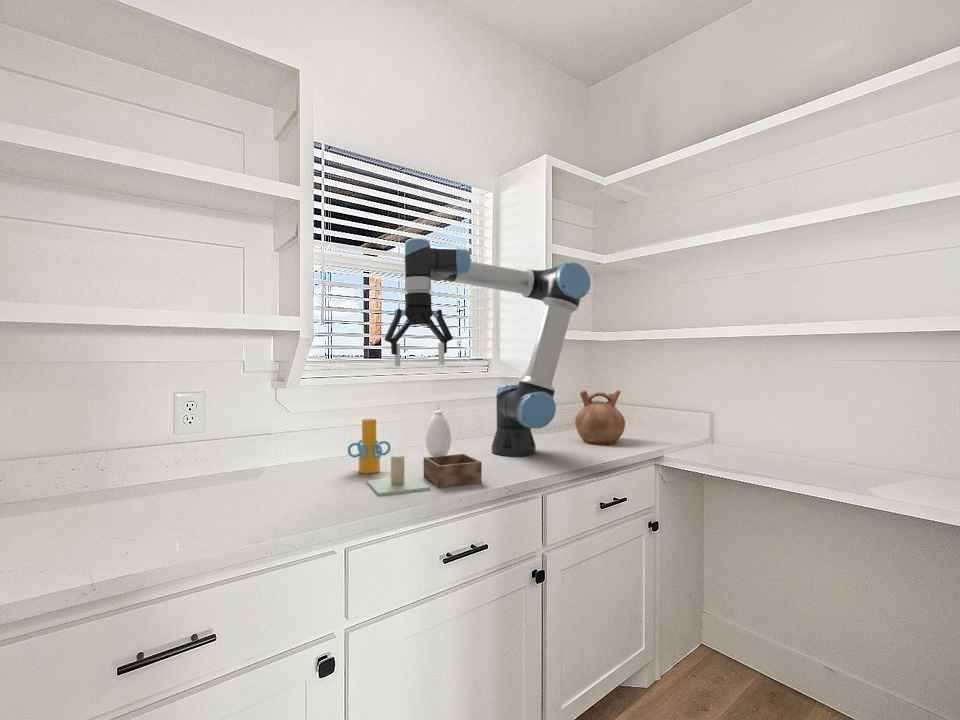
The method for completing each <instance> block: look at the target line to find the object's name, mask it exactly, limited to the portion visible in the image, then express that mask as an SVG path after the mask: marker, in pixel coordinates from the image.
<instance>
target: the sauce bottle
mask: <svg viewBox="0 0 960 720" xmlns="http://www.w3.org/2000/svg"><path fill="white" fill-rule="evenodd" d="M451 441H452V434H451V429H450V425H449V423H448V421H447V418H446V417H445V415H444V414H443V411H442V410H440V403H439V402H438V403H437V410H435V411H433V415H432V417H431V418H430V420H429V422H428V425H427V428H426V435H425V444H426V448H427V452H428V454H429V455H430V456H432V457H434V456H444V455H448V453H449V450H450V448H451V443H452V442H451Z"/></svg>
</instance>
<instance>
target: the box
mask: <svg viewBox="0 0 960 720" xmlns="http://www.w3.org/2000/svg"><path fill="white" fill-rule="evenodd" d="M482 464H483V463H482V461H480V460H478V459H475V458H474V457H471V456H470V455H467V454H465V453H456V454H446V455H444V456H434V457H433V456H425V457H423V478H424V479H425V478H426V479H425V480H427V481H428V482H429V481H430V482H429V483H431V484H432V483H433V484H432V485H434V486H435V487H436V486H437V487H436V488H438V489H442V488H443V489H444V488H448V487H449V488H451V486H452V487H458V486H459V487H460V486H467V485H476V484H482V476H483V475H482V474H483V473H482V468H483V467H482Z"/></svg>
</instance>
